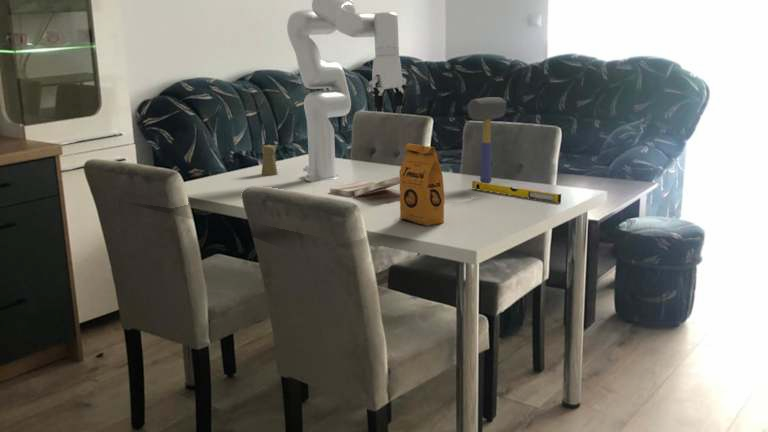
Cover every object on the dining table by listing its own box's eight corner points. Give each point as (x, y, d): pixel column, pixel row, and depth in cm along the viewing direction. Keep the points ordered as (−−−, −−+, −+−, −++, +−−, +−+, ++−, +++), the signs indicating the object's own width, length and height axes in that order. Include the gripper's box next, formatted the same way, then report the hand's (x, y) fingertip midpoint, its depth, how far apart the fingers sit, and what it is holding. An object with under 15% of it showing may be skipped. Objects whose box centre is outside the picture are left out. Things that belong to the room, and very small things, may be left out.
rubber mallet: (478, 188, 279) (479, 99, 272) (464, 184, 286) (465, 97, 279) (506, 183, 286) (508, 97, 279) (492, 180, 292) (494, 95, 285)
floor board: (328, 195, 270) (327, 188, 269) (362, 187, 282) (362, 180, 282) (388, 206, 253) (388, 198, 253) (422, 197, 266) (422, 189, 265)
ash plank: (355, 196, 263) (353, 191, 263) (385, 188, 274) (384, 184, 274) (385, 184, 254) (384, 180, 254) (416, 177, 265) (414, 173, 265)
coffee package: (423, 228, 227) (423, 149, 221) (395, 220, 236) (394, 144, 231) (450, 222, 233) (450, 145, 227) (421, 215, 242) (421, 140, 237)
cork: (280, 173, 310) (279, 144, 307) (270, 176, 305) (269, 146, 303) (268, 172, 313) (267, 143, 311) (258, 174, 308) (256, 145, 306)
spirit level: (472, 190, 278) (472, 181, 277) (474, 189, 279) (474, 180, 278) (558, 204, 255) (558, 194, 255) (560, 203, 256) (561, 194, 256)
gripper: (395, 52, 268) (397, 105, 271) (359, 53, 255) (362, 109, 258) (413, 51, 263) (415, 105, 266) (378, 53, 250) (380, 109, 254)
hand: (389, 107), depth 262 cm, fingers open, 9 cm apart
